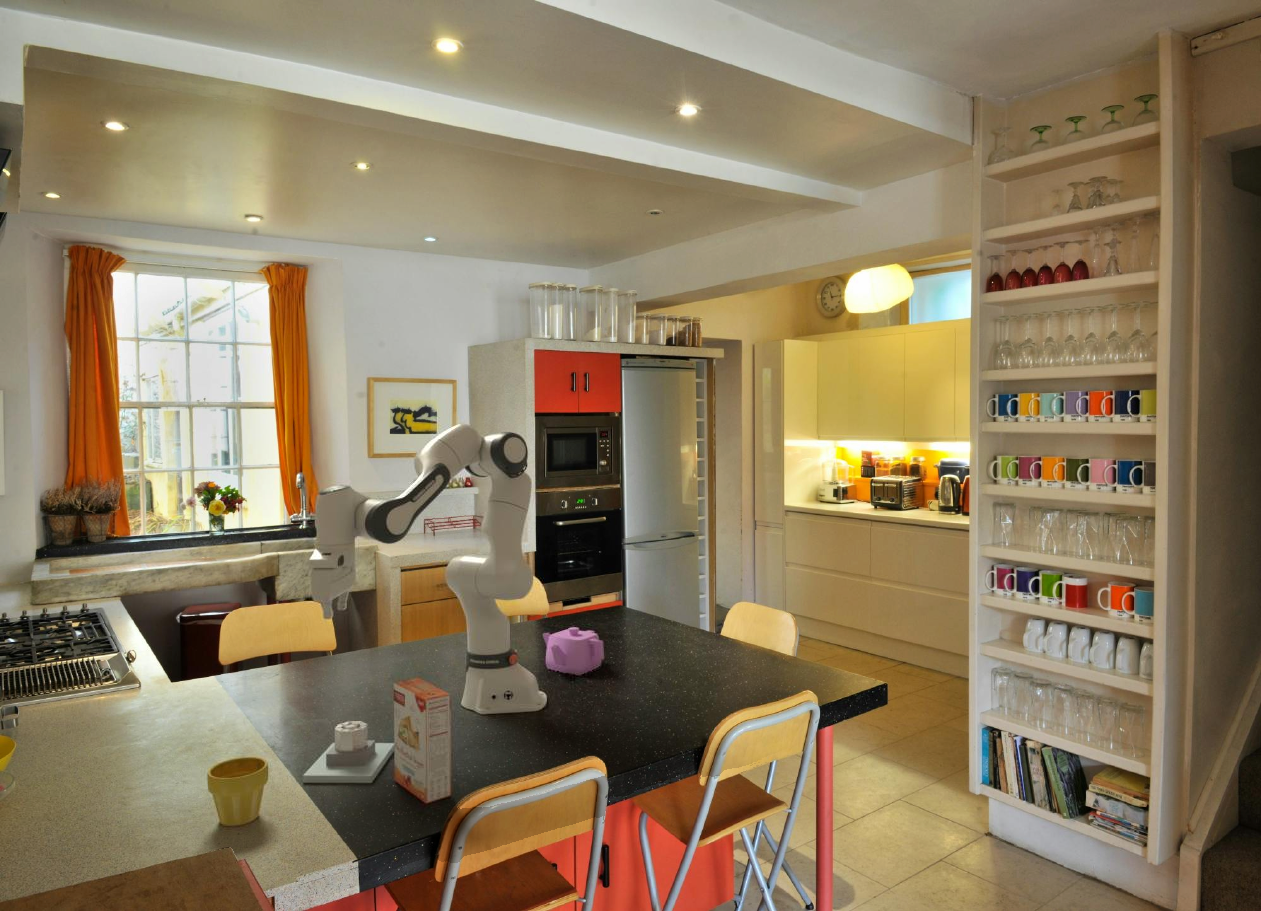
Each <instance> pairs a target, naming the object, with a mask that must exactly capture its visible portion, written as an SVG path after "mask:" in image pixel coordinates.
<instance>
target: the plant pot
mask: <svg viewBox="0 0 1261 911" xmlns="http://www.w3.org/2000/svg"><path fill="white" fill-rule="evenodd" d="M268 763H269V762H268V761H267V760H266V759H264V758H262V757H259V756H258V757H257V756H243V757H242V756H241V757H235V758H234V757H233V758H231V759H227V760H224V761H221V762H218V763H216V764H214V765H212V766H211V767H210V768H209V769H208V770H207V773H206V775H207V776H206V777H207V782H206V783H207V790H208V792H209V793H210V794H211V795H212V798H213V802H214V805H215V810H216V812H217V817H218V819H219V820H218V821H219V823H220V824H221V825H223V826H225V827H237V826H243V825H247V824H249V823H251V822H253V821H255V820H256V819H257V818H258V817H259V814H260V811H261V804H262V799H263V794H264V790H265V789H264V788H265V785H266V784H267V783H268V781H269V764H268Z"/></svg>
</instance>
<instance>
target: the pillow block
mask: <svg viewBox="0 0 1261 911" xmlns="http://www.w3.org/2000/svg"><path fill="white" fill-rule="evenodd" d="M346 729H356V725H348V726H346ZM393 754H394V742H376V740H375V739H374V740H371V739H367V746H366V747H365V748H364V749H363V750H359V751H356V752H339V751H337V750H336V749H335V742H332V743H331V744H330V745H329V746H328V747H327V749H326V750H325V751H324V752H323V753H322V754H321V756H320V757H318V759H317V760H316V761H315V762H314V763H313V764H312V765H311V766H310V767H309V768H308V769H307V771H306V772H305V773H304V774H303V775H302V783H305V784H307V783H309V784H315V783H316V784H317V783H319V784H333V783H334V784H372V783H373V781H374V780H375V778H376V777H377V776H378V774H379V773H380V771H381V770H382V769H383V768H384V766H385V765H386V763H387V761H388V760H390V757H391V756H392V755H393Z"/></svg>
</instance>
